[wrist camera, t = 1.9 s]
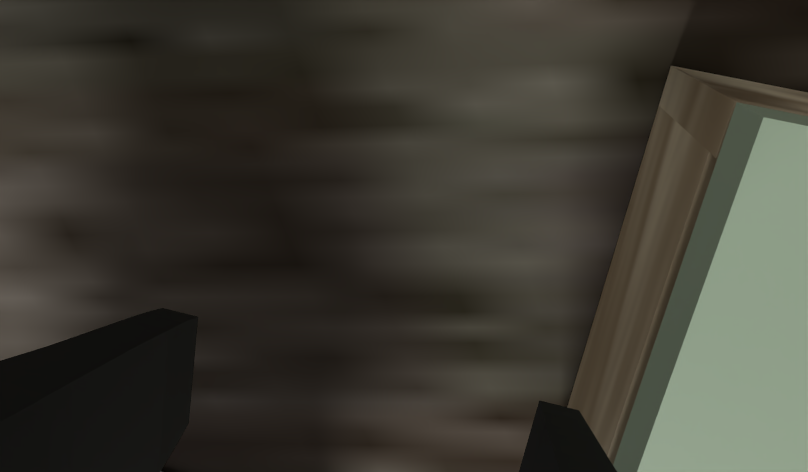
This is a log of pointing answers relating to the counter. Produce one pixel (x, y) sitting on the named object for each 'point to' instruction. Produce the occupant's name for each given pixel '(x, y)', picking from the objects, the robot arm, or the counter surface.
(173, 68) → the counter surface
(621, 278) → the cubby
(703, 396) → the lid
